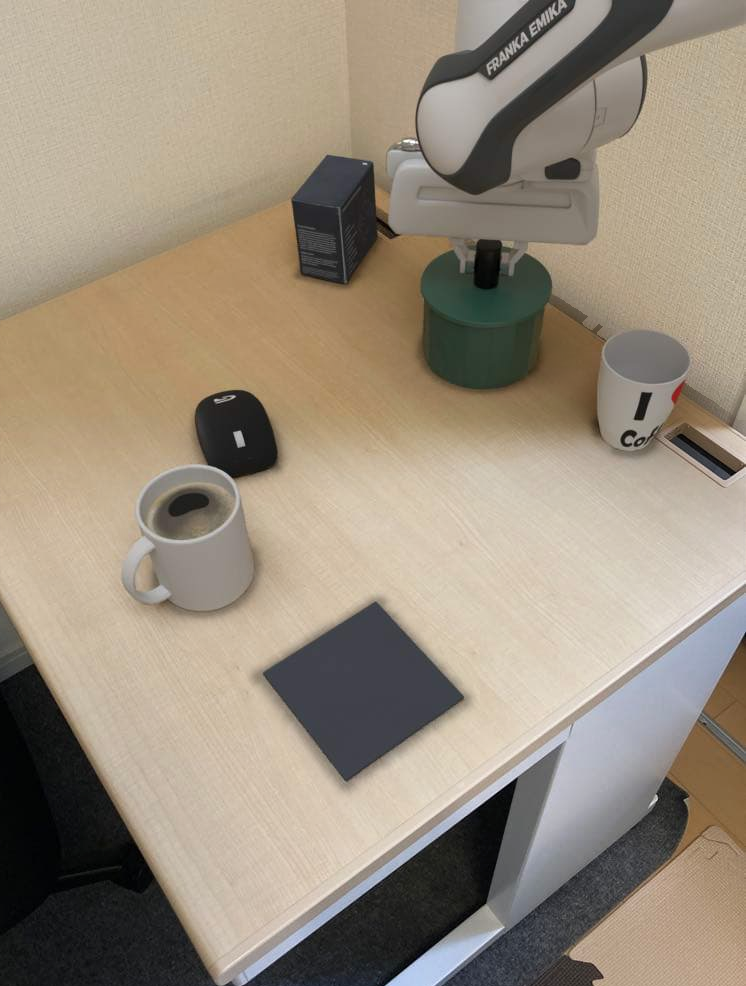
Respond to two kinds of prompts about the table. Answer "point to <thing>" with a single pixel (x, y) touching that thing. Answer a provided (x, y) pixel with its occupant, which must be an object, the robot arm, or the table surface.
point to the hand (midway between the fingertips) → (487, 271)
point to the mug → (191, 539)
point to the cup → (639, 385)
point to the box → (335, 218)
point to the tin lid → (486, 288)
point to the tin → (480, 350)
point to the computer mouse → (235, 433)
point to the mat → (362, 689)
